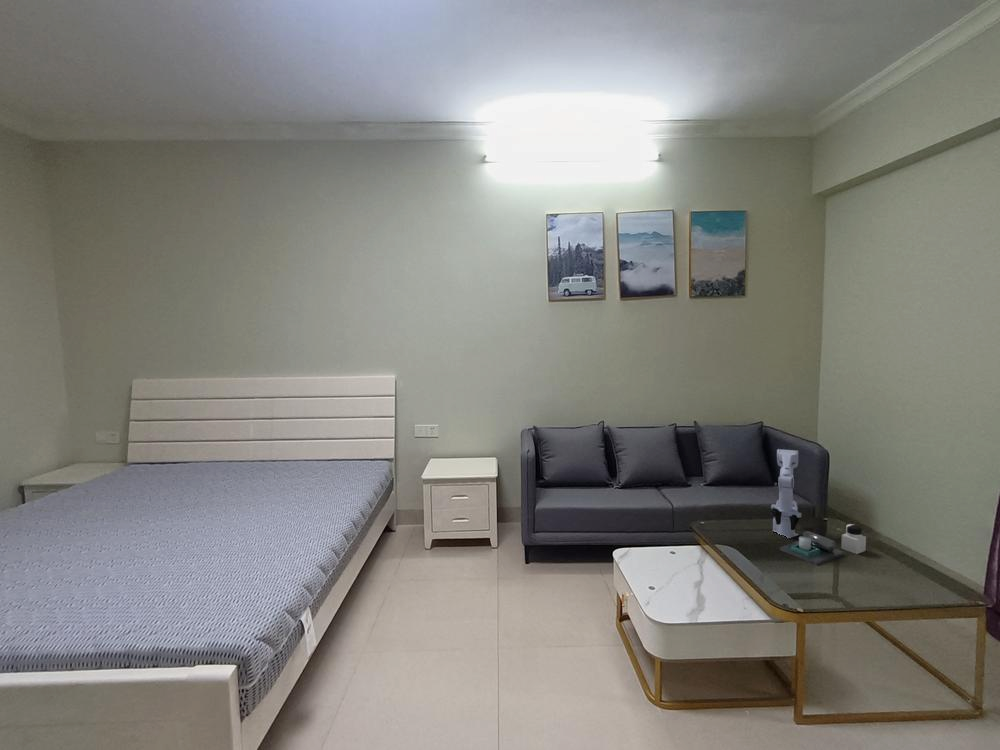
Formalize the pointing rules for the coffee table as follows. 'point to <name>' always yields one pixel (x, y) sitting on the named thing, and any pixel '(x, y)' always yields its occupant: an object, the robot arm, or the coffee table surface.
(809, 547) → the white rounded cylinder
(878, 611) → the coffee table surface
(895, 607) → the coffee table surface
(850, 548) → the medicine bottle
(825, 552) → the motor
